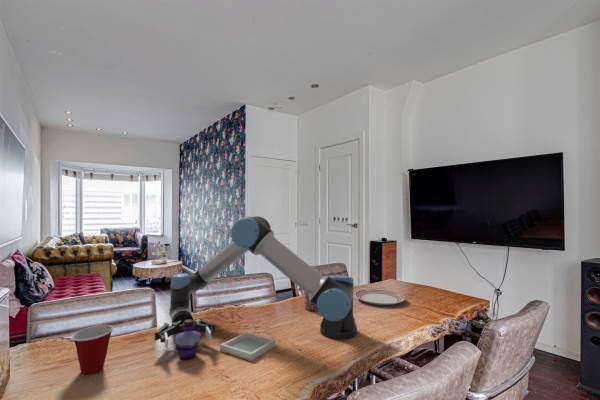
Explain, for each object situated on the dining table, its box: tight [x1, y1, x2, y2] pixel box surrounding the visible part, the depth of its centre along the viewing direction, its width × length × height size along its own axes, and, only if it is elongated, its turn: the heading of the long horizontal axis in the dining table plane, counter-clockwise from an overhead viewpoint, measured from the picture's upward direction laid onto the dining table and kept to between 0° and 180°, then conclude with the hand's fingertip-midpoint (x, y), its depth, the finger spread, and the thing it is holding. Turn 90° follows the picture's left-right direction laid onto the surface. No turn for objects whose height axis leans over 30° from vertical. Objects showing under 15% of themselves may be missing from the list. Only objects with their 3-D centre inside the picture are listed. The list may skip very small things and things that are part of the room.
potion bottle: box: [174, 319, 202, 361], centre depth 108 cm, size 9×9×12 cm
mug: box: [304, 291, 319, 312], centre depth 163 cm, size 13×9×14 cm
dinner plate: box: [354, 288, 406, 306], centre depth 179 cm, size 27×27×3 cm
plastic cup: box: [70, 324, 114, 376], centre depth 98 cm, size 11×11×12 cm
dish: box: [219, 331, 277, 362], centre depth 115 cm, size 14×14×2 cm
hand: (189, 340), depth 105 cm, fingers open, 13 cm apart
